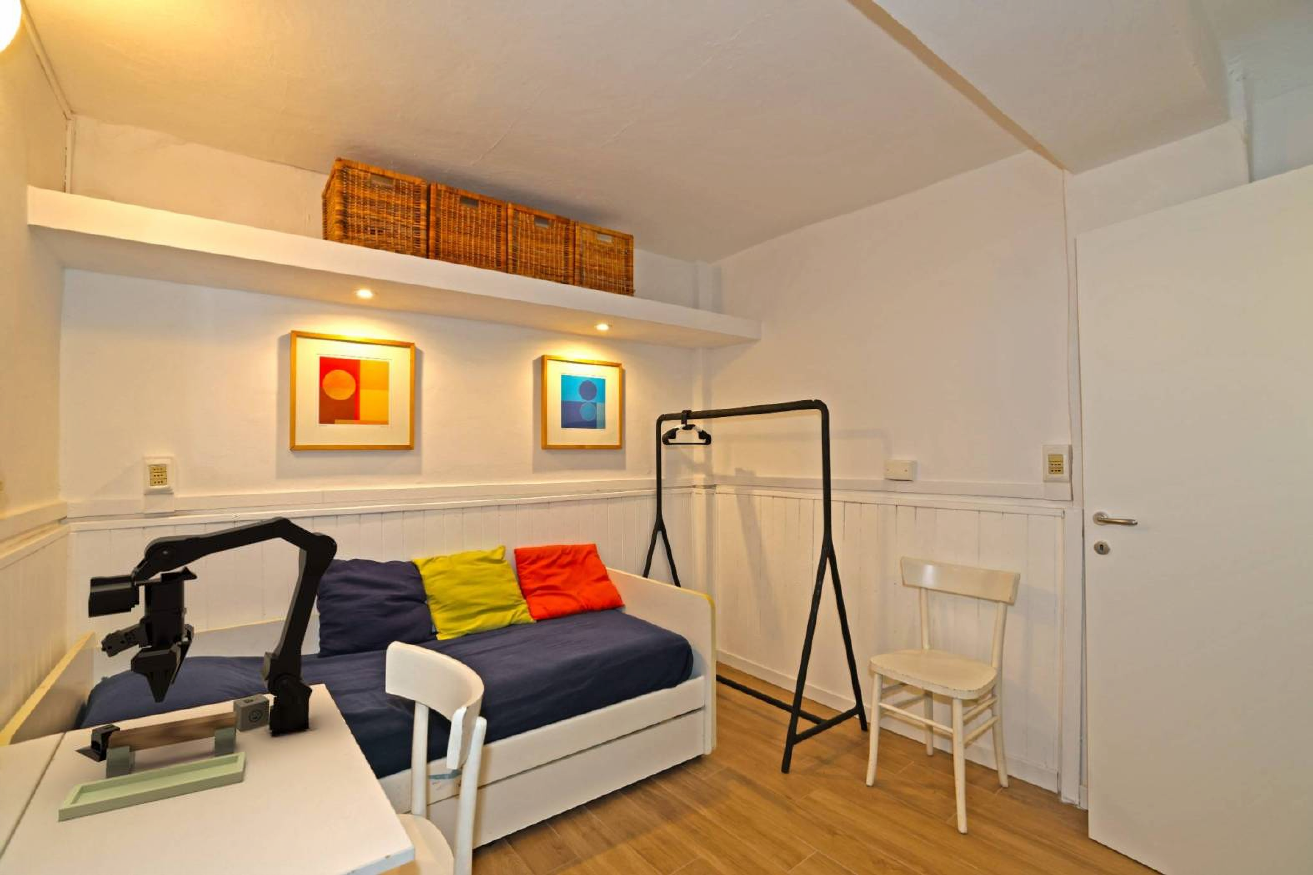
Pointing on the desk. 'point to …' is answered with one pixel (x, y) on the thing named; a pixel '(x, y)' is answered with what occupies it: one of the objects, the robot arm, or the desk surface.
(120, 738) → the rail
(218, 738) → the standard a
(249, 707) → the dice cube
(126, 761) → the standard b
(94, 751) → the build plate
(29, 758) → the desk surface
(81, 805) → the tray
